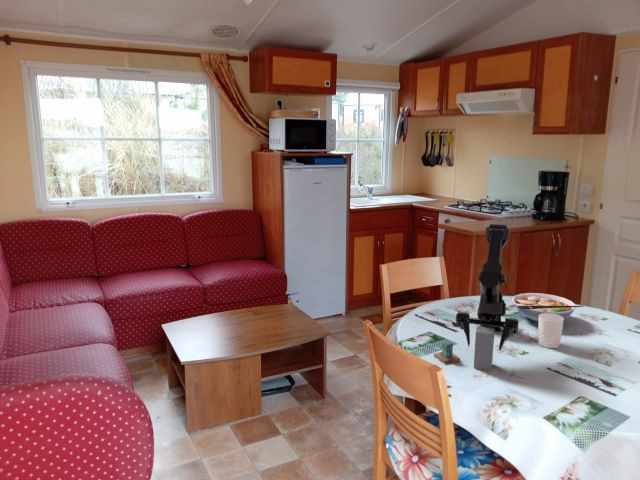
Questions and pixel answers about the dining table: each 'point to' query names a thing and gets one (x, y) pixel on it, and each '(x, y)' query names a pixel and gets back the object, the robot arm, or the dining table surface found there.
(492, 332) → the tall grey pillar
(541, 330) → the white cup
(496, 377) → the dining table surface
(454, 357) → the post plinth
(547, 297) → the ramen bowl
